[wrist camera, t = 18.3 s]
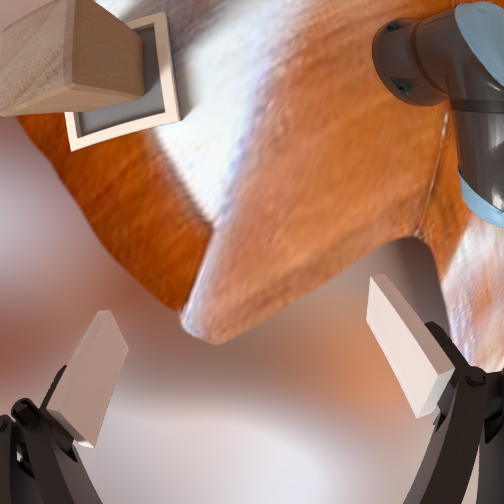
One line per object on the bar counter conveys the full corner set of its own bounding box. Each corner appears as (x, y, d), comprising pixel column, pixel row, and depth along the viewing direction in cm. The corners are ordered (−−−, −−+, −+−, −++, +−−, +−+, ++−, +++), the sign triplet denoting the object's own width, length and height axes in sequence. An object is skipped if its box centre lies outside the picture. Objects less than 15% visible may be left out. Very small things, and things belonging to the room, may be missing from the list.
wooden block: (83, 53, 30) (-3, 29, 12) (144, 36, 30) (79, -16, 12) (85, 113, 34) (-7, 120, 16) (146, 98, 34) (73, 85, 16)
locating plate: (167, 17, 30) (163, 11, 27) (181, 120, 37) (178, 120, 35) (67, 53, 30) (59, 50, 28) (79, 149, 37) (71, 151, 35)
